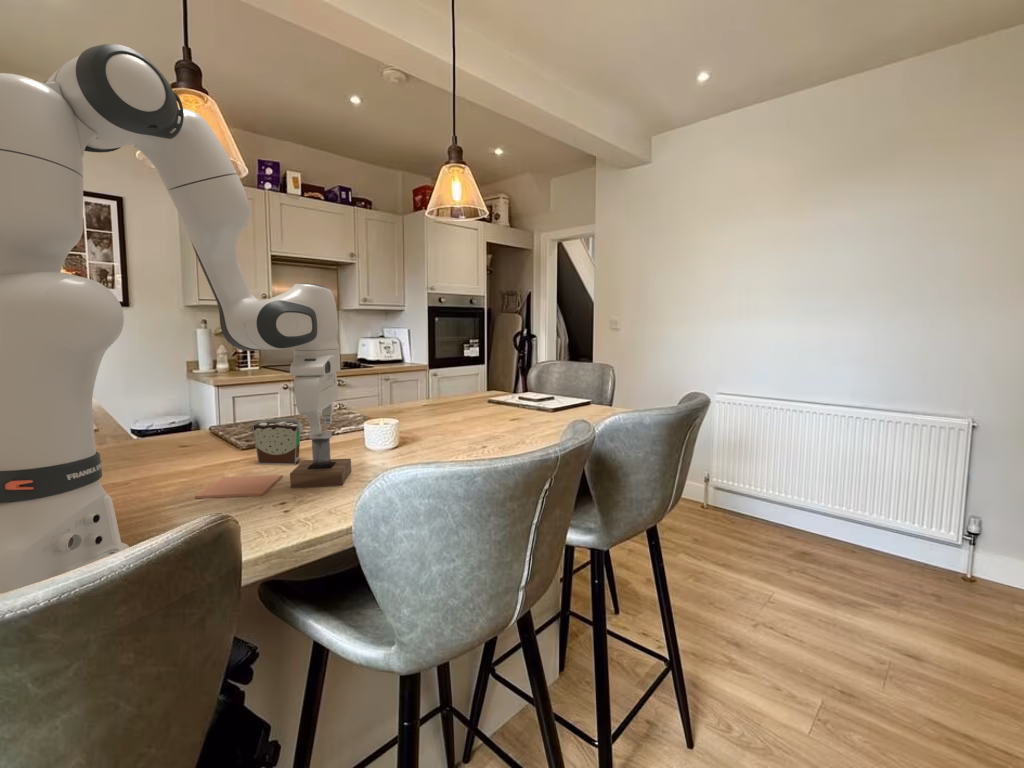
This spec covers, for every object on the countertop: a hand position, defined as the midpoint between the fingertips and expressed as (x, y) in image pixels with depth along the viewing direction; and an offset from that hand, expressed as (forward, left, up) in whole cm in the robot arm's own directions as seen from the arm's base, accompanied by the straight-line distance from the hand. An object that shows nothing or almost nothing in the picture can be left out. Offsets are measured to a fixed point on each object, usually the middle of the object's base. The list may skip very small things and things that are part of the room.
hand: (321, 428), depth 103 cm
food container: (+17, +13, -11) cm, 24 cm away
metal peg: (0, 0, -11) cm, 11 cm away
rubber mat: (-3, +15, -11) cm, 19 cm away
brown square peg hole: (0, 0, -11) cm, 11 cm away
